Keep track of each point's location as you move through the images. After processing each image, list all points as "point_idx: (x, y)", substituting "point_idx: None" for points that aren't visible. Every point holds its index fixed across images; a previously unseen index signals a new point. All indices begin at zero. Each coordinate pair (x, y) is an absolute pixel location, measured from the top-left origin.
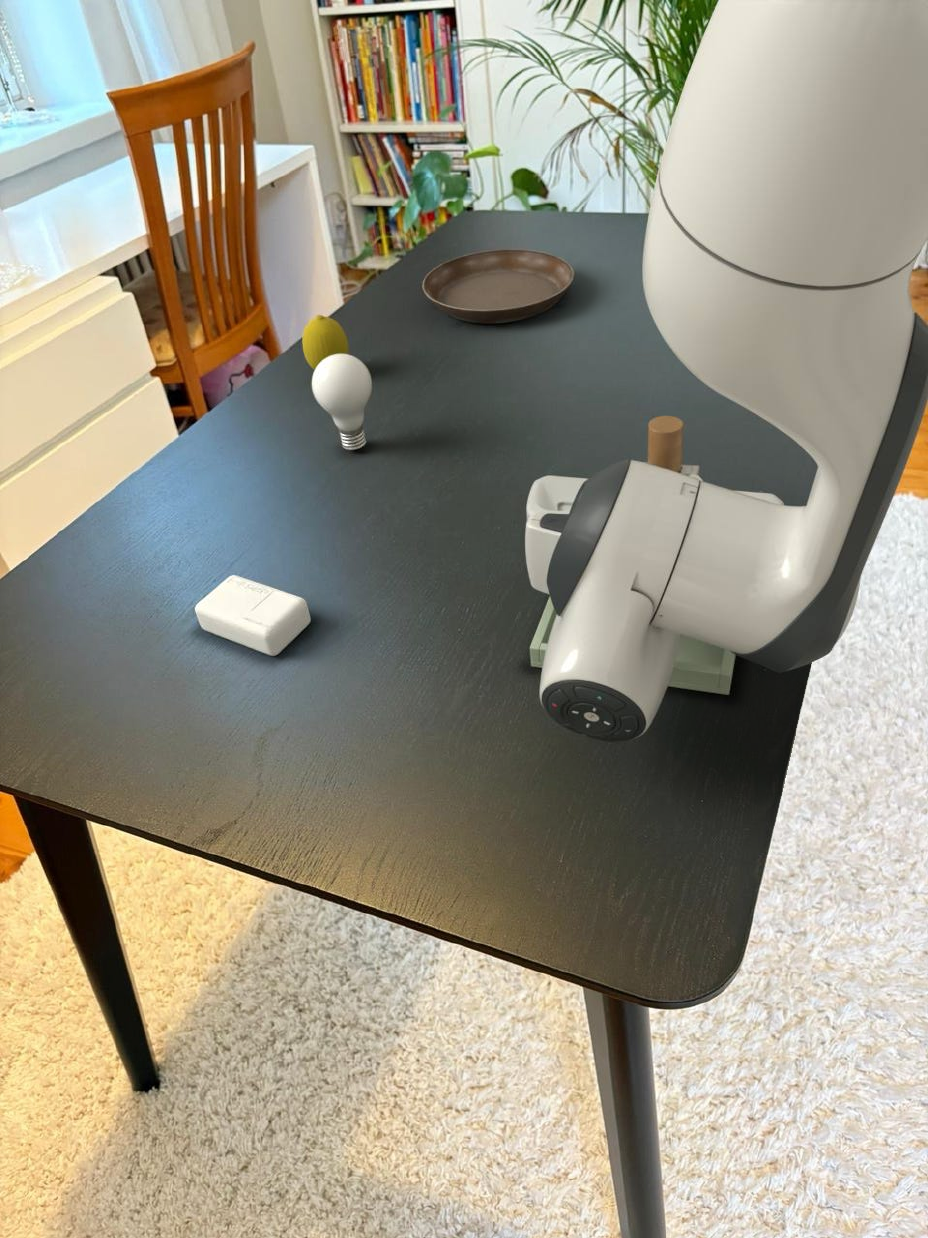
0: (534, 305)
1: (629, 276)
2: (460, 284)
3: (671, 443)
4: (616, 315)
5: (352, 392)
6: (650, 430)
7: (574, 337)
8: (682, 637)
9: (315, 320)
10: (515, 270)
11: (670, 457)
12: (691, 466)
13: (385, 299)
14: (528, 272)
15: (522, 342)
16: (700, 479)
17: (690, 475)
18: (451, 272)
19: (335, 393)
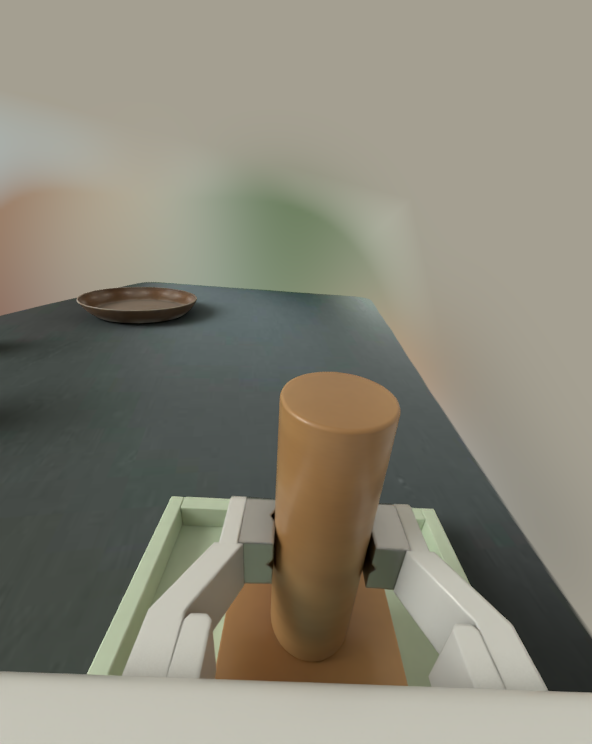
0: (162, 310)
1: (234, 307)
2: (117, 303)
3: (372, 469)
4: (225, 323)
5: None
6: (292, 421)
7: (192, 333)
8: None
9: None
10: (160, 300)
11: (360, 512)
12: (394, 511)
13: (54, 308)
14: (168, 301)
15: (149, 334)
16: (457, 578)
17: (413, 555)
18: (111, 296)
19: None
